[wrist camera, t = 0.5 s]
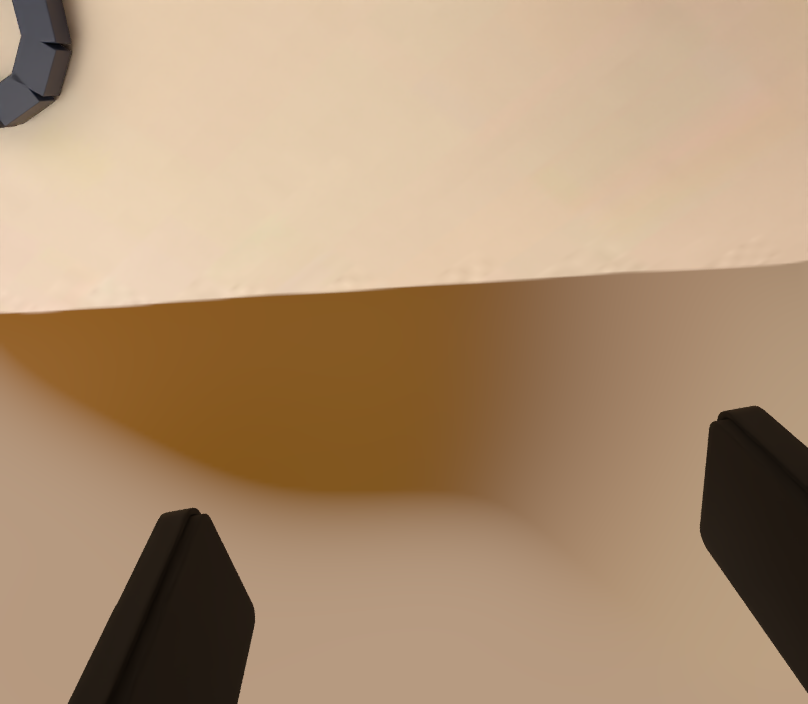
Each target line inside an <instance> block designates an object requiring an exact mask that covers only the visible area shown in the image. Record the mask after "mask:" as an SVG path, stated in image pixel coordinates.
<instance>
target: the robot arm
mask: <svg viewBox="0 0 808 704" xmlns="http://www.w3.org/2000/svg"><path fill="white" fill-rule="evenodd" d="M700 533H701V537H702V540H703V542H704V544H705V546H706V548H707V550H708V551H709V552H710V554H711V555H712V557H713V558H714V560H715V561H716V562H717V564H718V565H719V567H720V568H721V570H722V571H723V572H724V574H725V575H726V577H727V578H728V580H729V581H730V583H731V584H732V585H733V587H734V588H735V590H736V591H737V592H738V594H739V596H740V597H741V598H742V600H743V601H744V603H745V604H746V606H747V607H748V608H749V610H750V611H751V613H752V614H753V615H754V617H755V618H756V620H757V621H758V622H759V624H760V625H761V627H762V628H763V630H764V631H765V633H766V634H767V635H768V637H769V638H770V640H771V641H772V643H773V644H774V646H775V647H776V648H777V650H778V651H779V653H780V654H781V656H782V657H783V658H784V660H785V661H786V663H787V664H788V666H789V667H790V668H791V670H792V671H793V673H794V674H795V676H796V677H797V678H798V680H799V681H800V683H801V684H802V685H803V687H804V688H805V690H806V691H807V693H808V448H807V447H806V446H805V445H804V444H803V443H802V442H800V441H799V440H798V439H797V438H796V437H794V436H793V435H792V434H791V433H790V432H789V431H788V430H787V429H785V428H784V427H783V426H782V425H781V424H780V423H778V422H777V421H776V420H775V419H774V418H773V417H772V416H770V415H769V414H768V413H767V412H766V411H765V410H763V409H761V408H760V407H758V406H750V407H745V408H739V409H734V410H728V411H723V412H721V413H720V414H719V416H718V419H717V421H714V422H712V423H711V424H710V428H709V437H708V448H707V458H706V468H705V479H704V490H703V501H702V510H701V522H700ZM254 624H255V613H254V607H253V604H252V602H251V600H250V598H249V596H248V594H247V592H246V590H245V588H244V586H243V584H242V582H241V580H240V577H239V576H238V573H237V571H236V569H235V567H234V565H233V563H232V561H231V559H230V557H229V555H228V553H227V551H226V549H225V547H224V545H223V543H222V541H221V539H220V537H219V535H218V533H217V531H216V529H215V526H214V524H213V522H212V520H211V518H210V517H209V515H207V514H201V513H200V512H199V510H198V509H196V508H189V509H183V510H178V511H172V512H168V513H164V514H162V515H161V516H160V518H159V519H158V521H157V523H156V526H155V527H154V529H153V531H152V534H151V536H150V538H149V540H148V542H147V544H146V546H145V548H144V550H143V552H142V554H141V556H140V558H139V560H138V562H137V564H136V566H135V568H134V571H133V573H132V575H131V577H130V579H129V581H128V583H127V585H126V587H125V589H124V591H123V593H122V595H121V597H120V599H119V601H118V603H117V605H116V606H115V608H114V610H113V612H112V614H111V616H110V618H109V620H108V622H107V624H106V626H105V628H104V631H103V633H102V635H101V637H100V639H99V641H98V643H97V645H96V647H95V649H94V651H93V653H92V655H91V657H90V659H89V661H88V663H87V665H86V667H85V670H84V671H83V674H82V676H81V678H80V680H79V682H78V684H77V686H76V688H75V690H74V692H73V694H72V696H71V698H70V700H69V702H68V704H237V702H238V698H239V693H240V689H241V684H242V679H243V675H244V670H245V666H246V661H247V657H248V652H249V648H250V643H251V639H252V633H253V630H254Z"/></svg>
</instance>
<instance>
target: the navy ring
mask: <svg viewBox="0 0 808 704" xmlns="http://www.w3.org/2000/svg"><path fill="white" fill-rule="evenodd" d="M12 2H13V6H14V10H15V13H16V17H17V21H18V25H19V28H20V32H21V39H20V43H19V47H18V51H17V55H16V59H15V63H14V67H13V71H12V74H11V75H9V76H8V77H7V78H5V79H4V80H3V81H1V82H0V128H4V127H12V126H17V125H18V124H24V123H25V122H26V121H28V120H29V119H31V118H32V117H33V116H35V115H36V114H38V113H39V112H40V111H42V110H43V109H45V108H46V107H47V106H49V105H50V104H52V103H53V102H55V99H54V97H53V96H57V95H60V91H61V88H62V85H63V81H64V78H65V74H66V71H67V67H68V64H69V60H70V57H71V54H72V51H70V50H69V49H67V48H65V47H63V46H62V45H60V44H72V42H71V38H70V34H69V29H68V25H67V21H66V16H65V12H64V8H63V3H62V0H12Z"/></svg>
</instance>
